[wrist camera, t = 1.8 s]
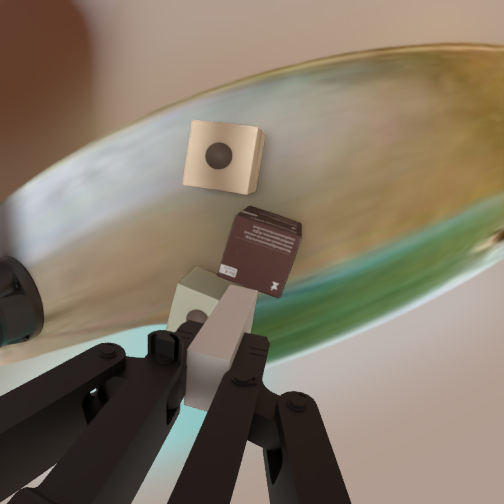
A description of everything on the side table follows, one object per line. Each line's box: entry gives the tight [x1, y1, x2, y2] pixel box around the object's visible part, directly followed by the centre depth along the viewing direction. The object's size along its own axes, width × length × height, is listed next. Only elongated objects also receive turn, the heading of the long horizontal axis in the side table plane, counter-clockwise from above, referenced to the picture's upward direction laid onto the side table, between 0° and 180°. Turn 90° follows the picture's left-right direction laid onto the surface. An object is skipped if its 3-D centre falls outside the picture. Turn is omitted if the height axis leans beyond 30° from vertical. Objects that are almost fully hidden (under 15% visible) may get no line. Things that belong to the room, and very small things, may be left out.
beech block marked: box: [183, 120, 265, 195], centre depth 29 cm, size 6×6×6 cm
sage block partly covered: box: [166, 266, 244, 332], centre depth 33 cm, size 6×6×6 cm
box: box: [217, 206, 302, 298], centre depth 30 cm, size 6×6×7 cm
